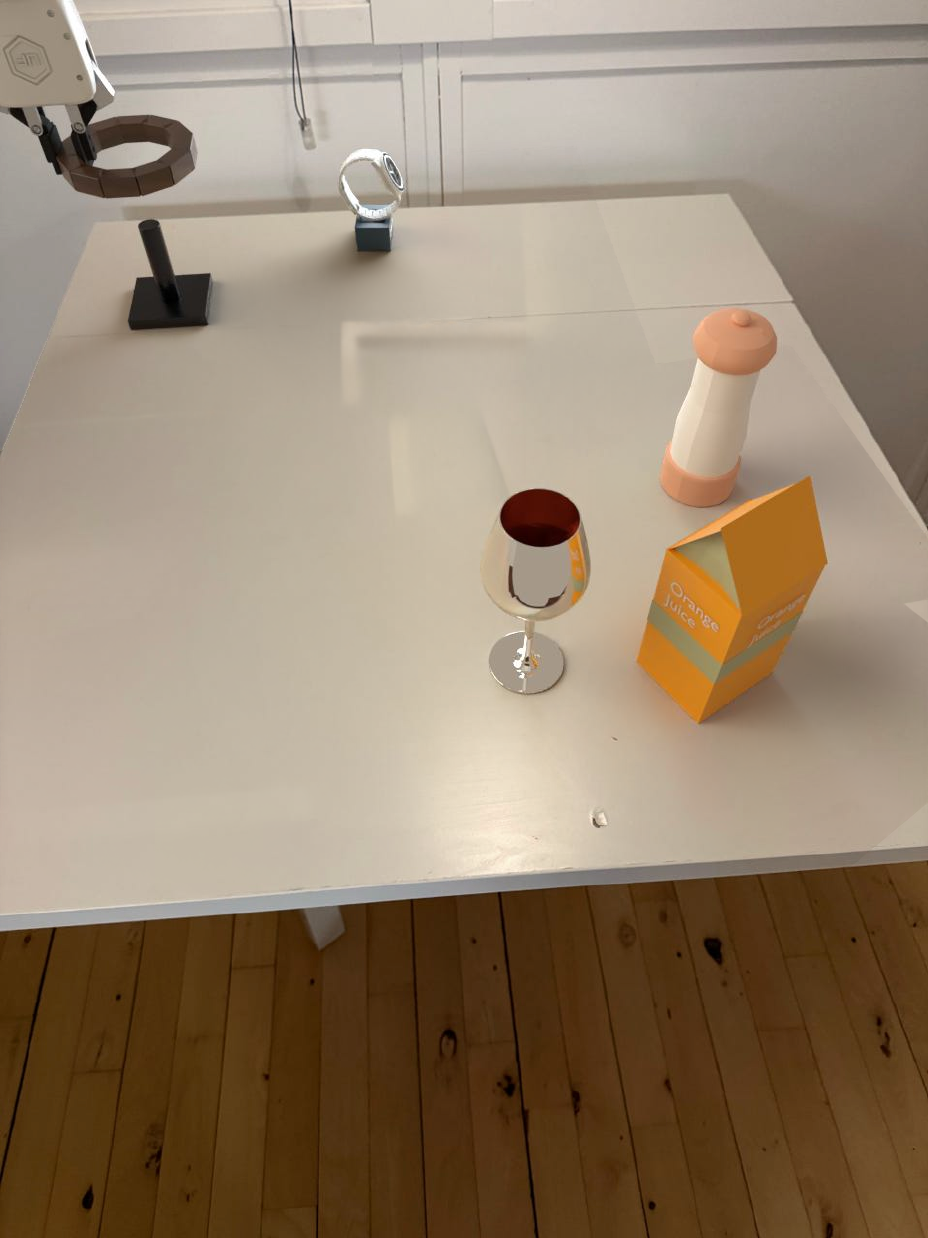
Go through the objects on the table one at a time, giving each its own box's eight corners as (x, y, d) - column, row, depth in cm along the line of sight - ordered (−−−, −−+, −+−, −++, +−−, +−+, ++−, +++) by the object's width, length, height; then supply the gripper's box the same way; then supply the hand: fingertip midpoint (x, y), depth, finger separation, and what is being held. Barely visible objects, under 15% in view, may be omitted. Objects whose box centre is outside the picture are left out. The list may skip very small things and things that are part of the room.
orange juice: (634, 661, 77) (678, 494, 61) (709, 613, 80) (769, 443, 64) (699, 726, 73) (764, 566, 57) (775, 673, 76) (857, 508, 60)
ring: (54, 201, 91) (47, 182, 89) (76, 137, 99) (69, 118, 97) (191, 193, 91) (186, 174, 90) (201, 130, 99) (196, 111, 98)
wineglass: (561, 618, 80) (582, 469, 65) (584, 696, 75) (613, 553, 60) (470, 631, 79) (471, 483, 64) (488, 710, 74) (493, 569, 60)
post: (130, 329, 105) (101, 248, 97) (139, 285, 111) (113, 205, 103) (207, 324, 106) (186, 243, 98) (213, 281, 111) (192, 201, 103)
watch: (406, 250, 115) (401, 164, 106) (343, 250, 115) (333, 164, 106) (408, 227, 119) (403, 141, 110) (347, 227, 119) (337, 141, 110)
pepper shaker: (716, 451, 92) (765, 283, 77) (744, 500, 88) (802, 333, 73) (649, 461, 92) (685, 294, 76) (674, 512, 87) (718, 345, 72)
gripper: (-102, -20, 77) (-10, 190, 92) (87, -29, 78) (148, 181, 93) (-79, -51, 82) (5, 154, 96) (99, -59, 83) (156, 146, 97)
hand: (75, 166), depth 94 cm, fingers closed on ring, 2 cm apart
